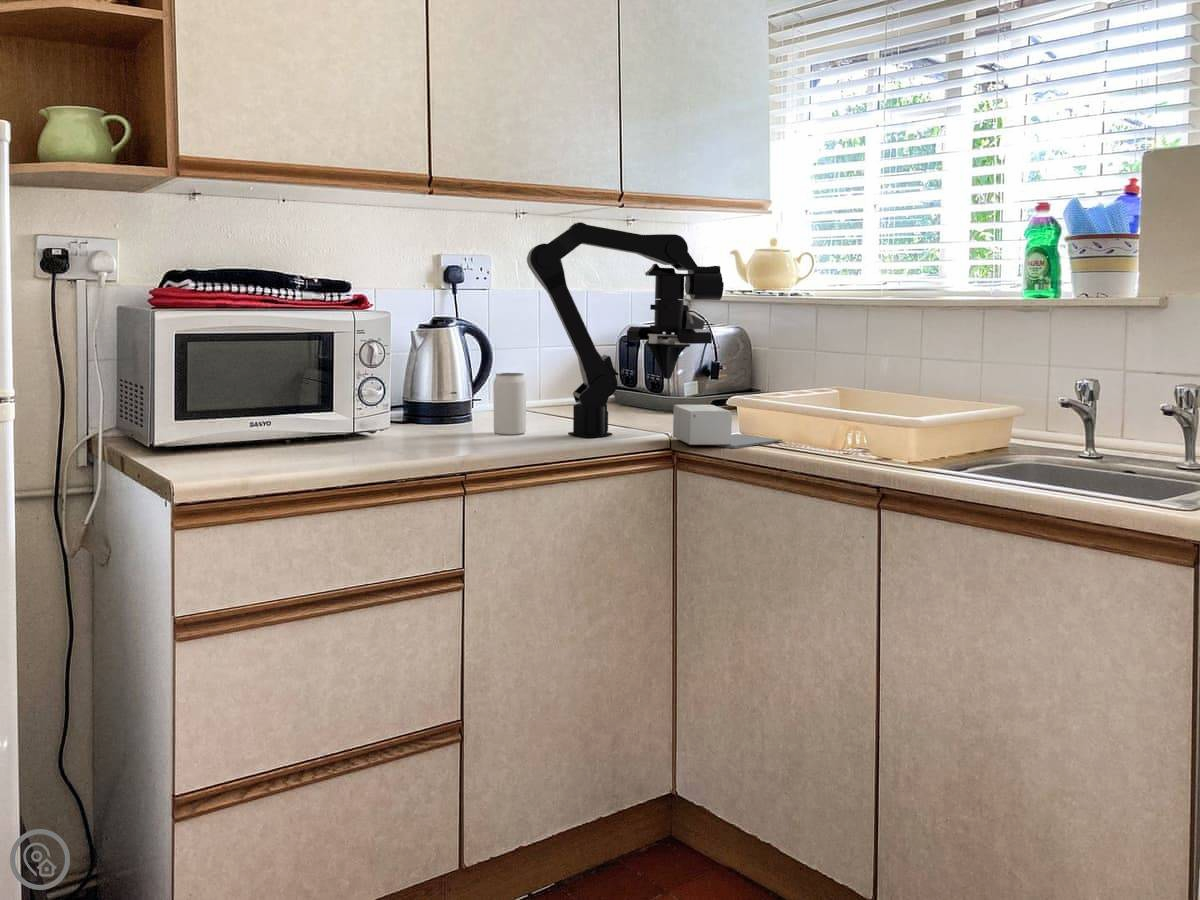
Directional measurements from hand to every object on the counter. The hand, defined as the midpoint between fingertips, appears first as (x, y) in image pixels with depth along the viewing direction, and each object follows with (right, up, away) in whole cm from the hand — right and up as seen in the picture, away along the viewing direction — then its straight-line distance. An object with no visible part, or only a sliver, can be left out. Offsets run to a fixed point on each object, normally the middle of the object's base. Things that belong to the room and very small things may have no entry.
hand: (667, 378), depth 213 cm
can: (-32, -11, +2) cm, 33 cm away
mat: (+13, -13, -9) cm, 20 cm away
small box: (+5, -9, -5) cm, 11 cm away
